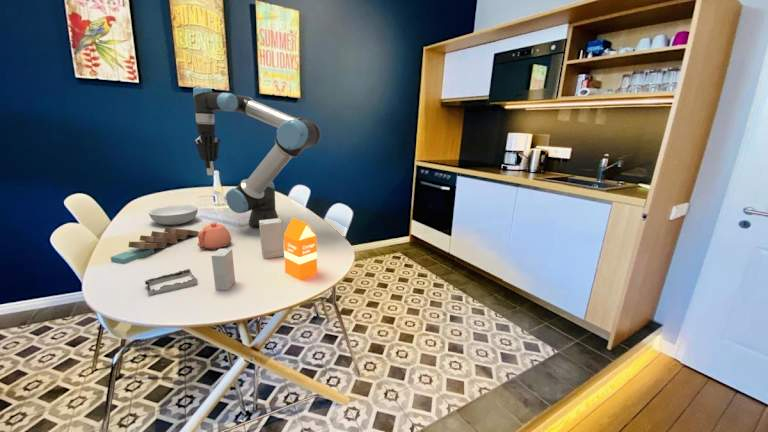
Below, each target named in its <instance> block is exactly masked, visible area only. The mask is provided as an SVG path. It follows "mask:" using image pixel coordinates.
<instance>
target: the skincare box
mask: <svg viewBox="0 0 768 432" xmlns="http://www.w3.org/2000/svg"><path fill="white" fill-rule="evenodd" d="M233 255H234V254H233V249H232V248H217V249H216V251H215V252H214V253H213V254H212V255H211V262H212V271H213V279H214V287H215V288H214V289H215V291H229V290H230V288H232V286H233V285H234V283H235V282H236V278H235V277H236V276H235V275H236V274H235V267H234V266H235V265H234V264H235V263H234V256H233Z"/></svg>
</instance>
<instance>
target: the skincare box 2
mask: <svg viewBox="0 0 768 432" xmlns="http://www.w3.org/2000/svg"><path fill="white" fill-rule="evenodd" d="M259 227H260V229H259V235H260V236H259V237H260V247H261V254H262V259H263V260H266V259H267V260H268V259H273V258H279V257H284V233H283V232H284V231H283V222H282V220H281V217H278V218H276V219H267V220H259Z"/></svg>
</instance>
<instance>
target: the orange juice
mask: <svg viewBox="0 0 768 432" xmlns="http://www.w3.org/2000/svg"><path fill="white" fill-rule="evenodd" d="M317 241H318V239H317V235H316V234H315V232H314V231H313V229H312V228H311V226H310V225H309V223H308V222H306V221H302V220H300V219H298V218H295V217H292V218H291V219H290V222H289V224H288V226H287V227H286V229H285V231H284V233H283V247H284V256H283V257H284V272H285V273H286V274H288V275H289V276H291V277H293V278H295V279H297V280H298V281H302V280H304V279H307V278H310V277H311V276H314V275H317V274H318V251H317V249H318V245H317V243H318V242H317Z"/></svg>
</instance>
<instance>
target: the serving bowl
mask: <svg viewBox="0 0 768 432" xmlns="http://www.w3.org/2000/svg"><path fill="white" fill-rule="evenodd" d="M198 209H199V208H198V207H197V206H196V205H192V204H175V205H165V206H161V207H157V208H153V209H151V210H149V212H148V216H149V217H150V218H151V220H152V221H153V222H155V223H157V224H159V225H165V226H166V225H167V226H177V225H182V224H185V223H187V222H190V221H192V220H194V219H195V217H197V215H198V213H199V212H198Z"/></svg>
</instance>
